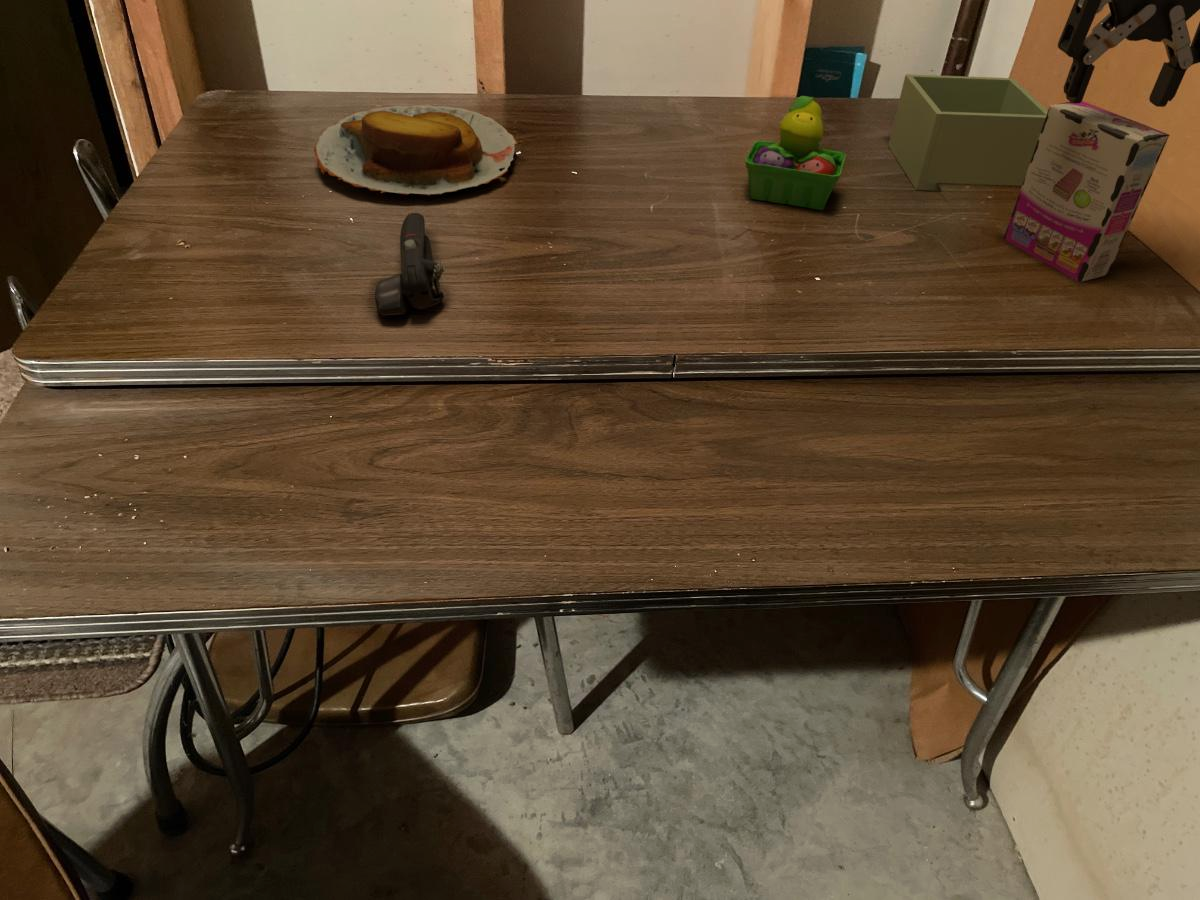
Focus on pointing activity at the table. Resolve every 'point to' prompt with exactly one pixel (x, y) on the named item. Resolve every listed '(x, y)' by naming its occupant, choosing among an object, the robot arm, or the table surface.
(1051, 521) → the table surface
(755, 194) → the fruit basket
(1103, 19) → the robot arm
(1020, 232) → the candy bar box
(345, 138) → the food on plate
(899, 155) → the waste bin
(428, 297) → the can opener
